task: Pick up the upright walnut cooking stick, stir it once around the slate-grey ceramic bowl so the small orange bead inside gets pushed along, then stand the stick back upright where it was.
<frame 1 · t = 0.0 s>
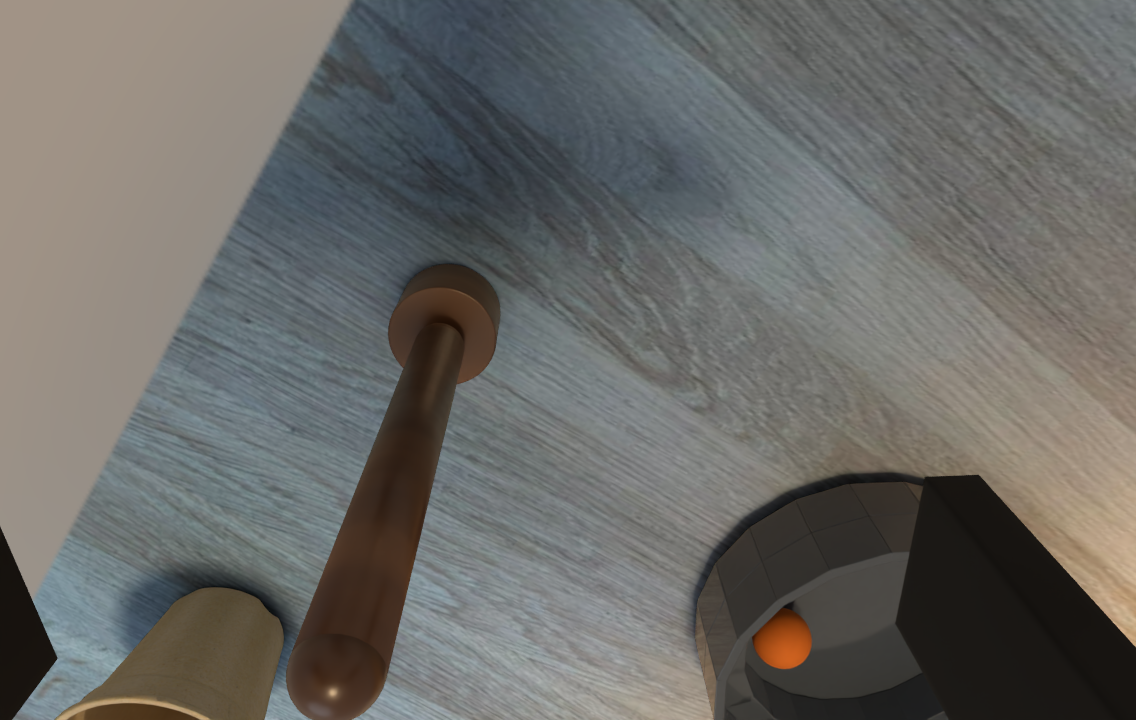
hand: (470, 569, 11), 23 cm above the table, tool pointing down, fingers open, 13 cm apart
flower pot: (227, 625, 41), on the table
bowl: (848, 602, 42), on the table
bead: (781, 637, 39), point 2 cm above the table, touching bowl
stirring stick: (450, 311, 34), on the table
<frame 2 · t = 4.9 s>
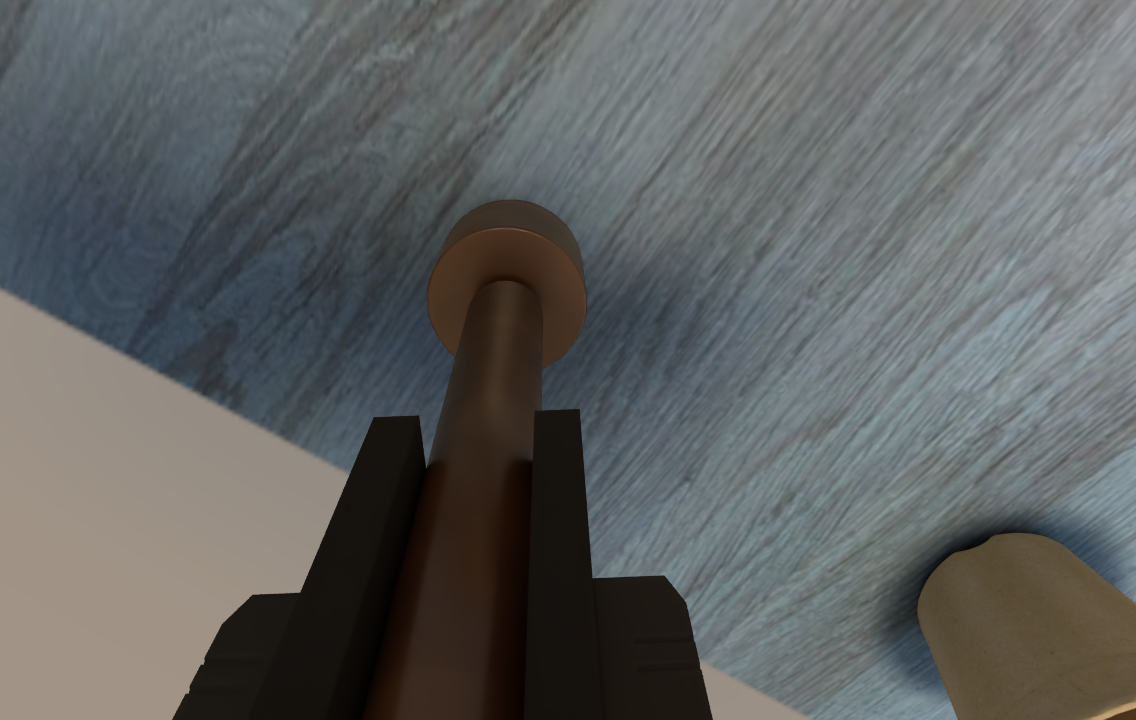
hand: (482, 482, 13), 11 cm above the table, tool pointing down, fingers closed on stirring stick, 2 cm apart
flower pot: (992, 590, 30), on the table
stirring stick: (511, 270, 23), on the table, touching gripper
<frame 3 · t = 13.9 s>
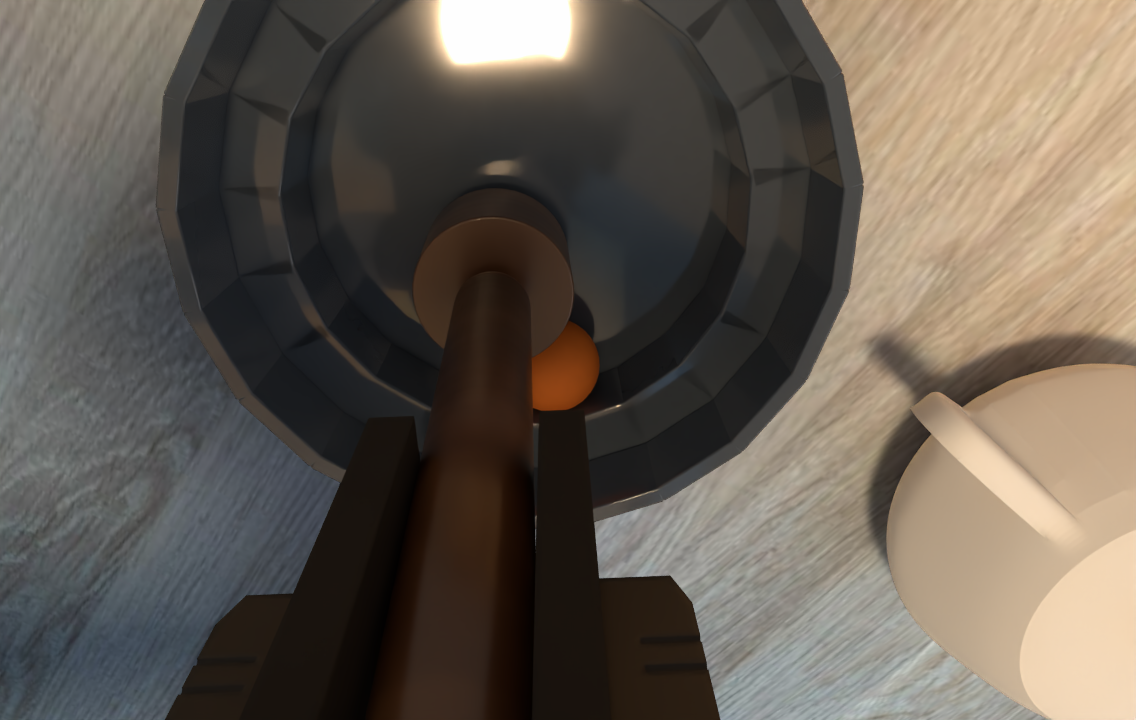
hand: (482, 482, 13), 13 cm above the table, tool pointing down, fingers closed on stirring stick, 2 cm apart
bowl: (522, 195, 24), on the table
bead: (552, 364, 24), point 2 cm above the table, tilted 25°, touching bowl, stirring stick
teapot: (1027, 485, 30), on the table
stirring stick: (497, 258, 23), point 2 cm above the table, touching bead, gripper
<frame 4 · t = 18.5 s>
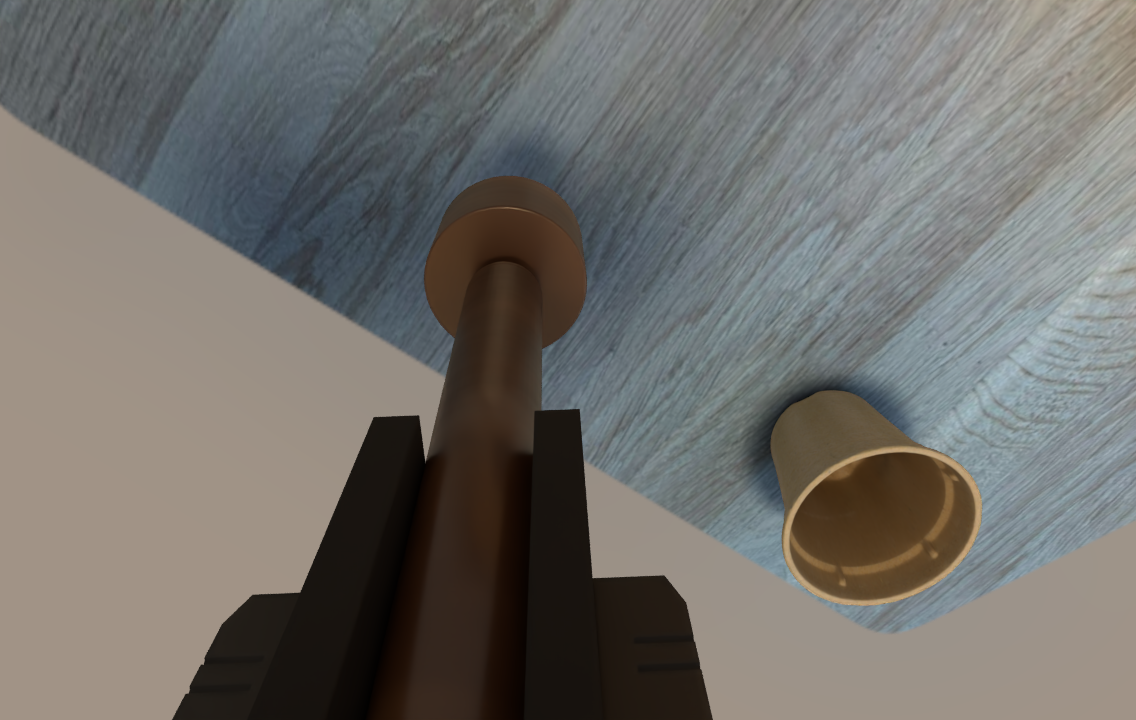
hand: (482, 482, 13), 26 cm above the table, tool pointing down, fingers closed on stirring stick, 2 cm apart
flower pot: (822, 435, 44), on the table
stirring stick: (510, 247, 23), point 15 cm above the table, touching gripper
when the fingers open (11 cm above the table, at t = 22.0 s): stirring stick stays where it is, on the table.
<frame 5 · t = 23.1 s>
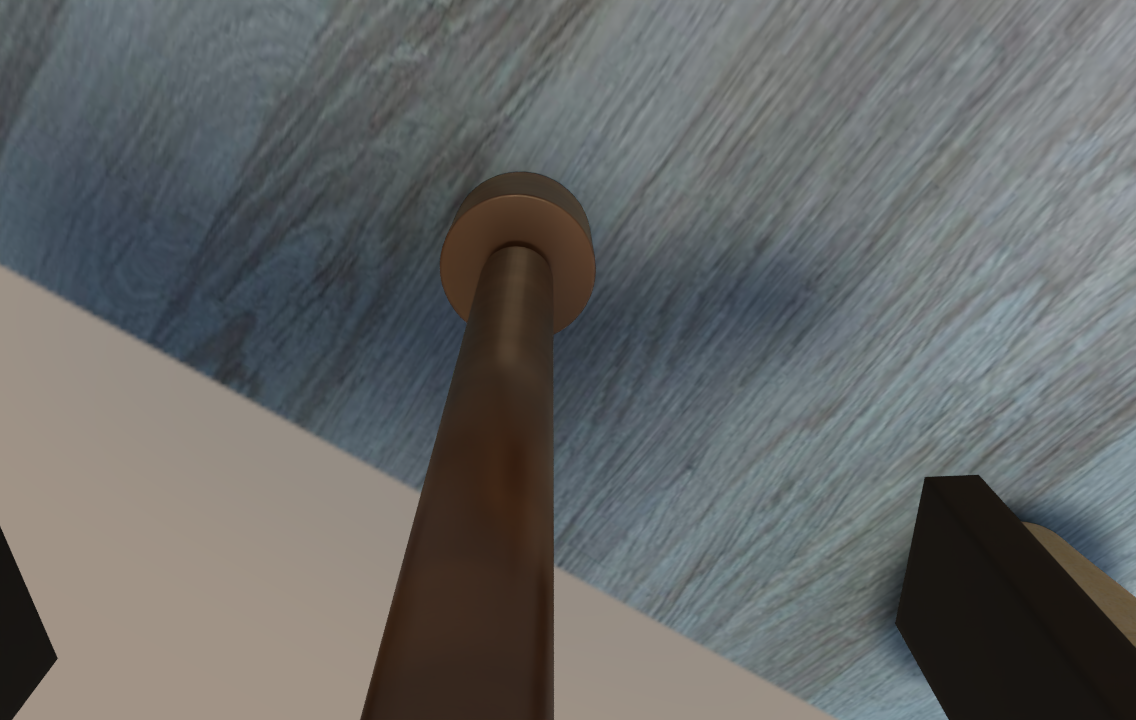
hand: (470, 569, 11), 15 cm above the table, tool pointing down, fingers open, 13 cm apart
flower pot: (986, 578, 31), on the table
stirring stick: (521, 241, 24), on the table
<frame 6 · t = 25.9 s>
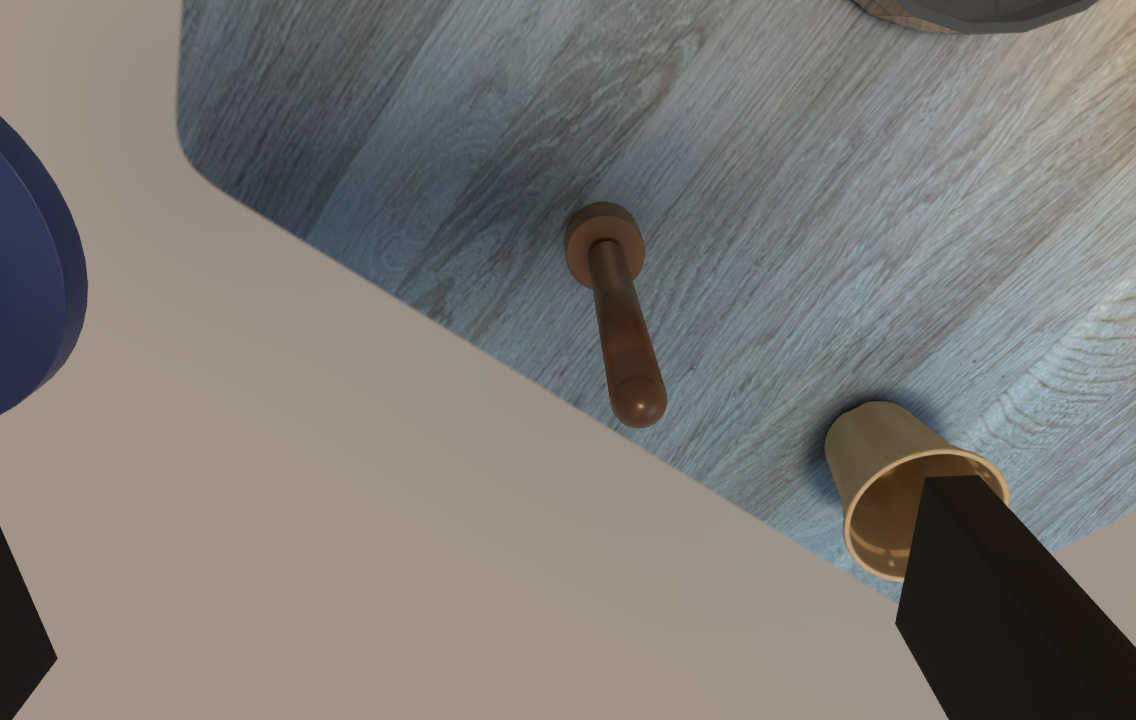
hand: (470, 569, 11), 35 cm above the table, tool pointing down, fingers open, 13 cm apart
flower pot: (868, 439, 51), on the table
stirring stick: (602, 239, 45), on the table
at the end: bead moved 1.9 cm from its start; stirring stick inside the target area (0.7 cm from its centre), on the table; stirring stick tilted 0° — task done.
